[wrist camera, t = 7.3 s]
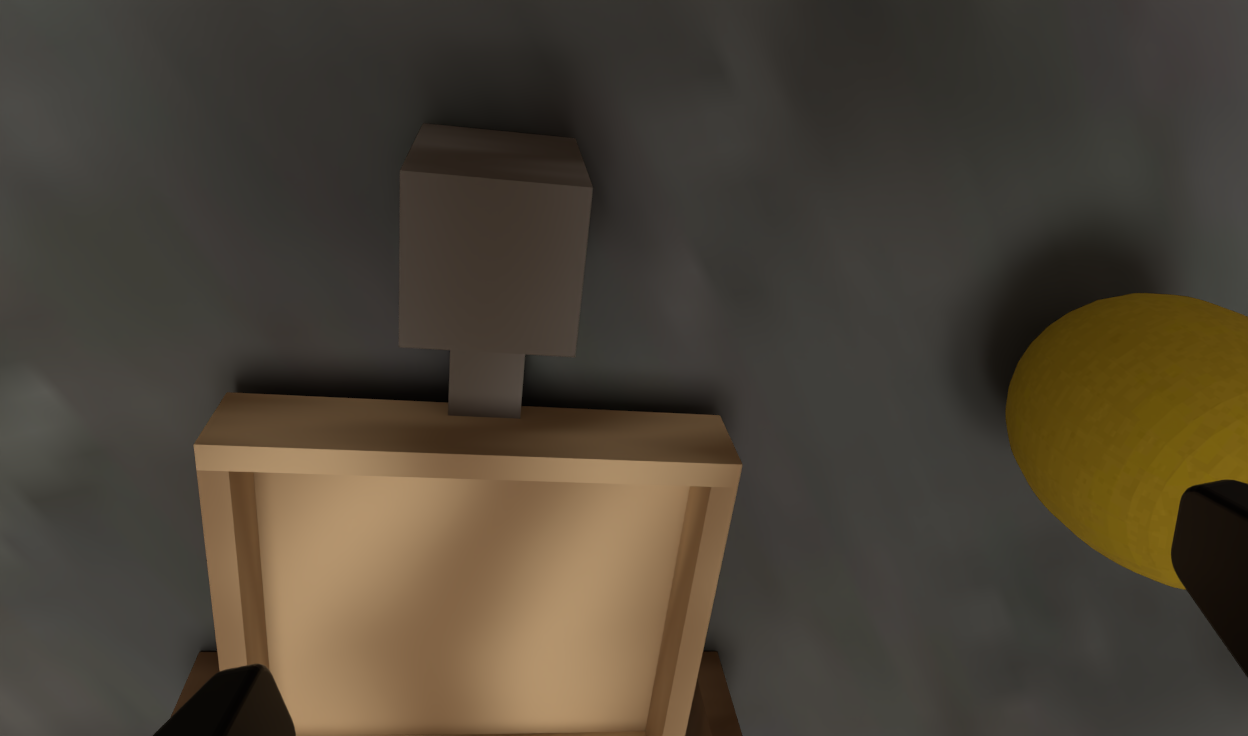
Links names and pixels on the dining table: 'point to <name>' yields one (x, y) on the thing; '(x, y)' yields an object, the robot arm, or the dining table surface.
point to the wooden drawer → (471, 496)
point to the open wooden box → (708, 725)
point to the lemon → (1131, 419)
